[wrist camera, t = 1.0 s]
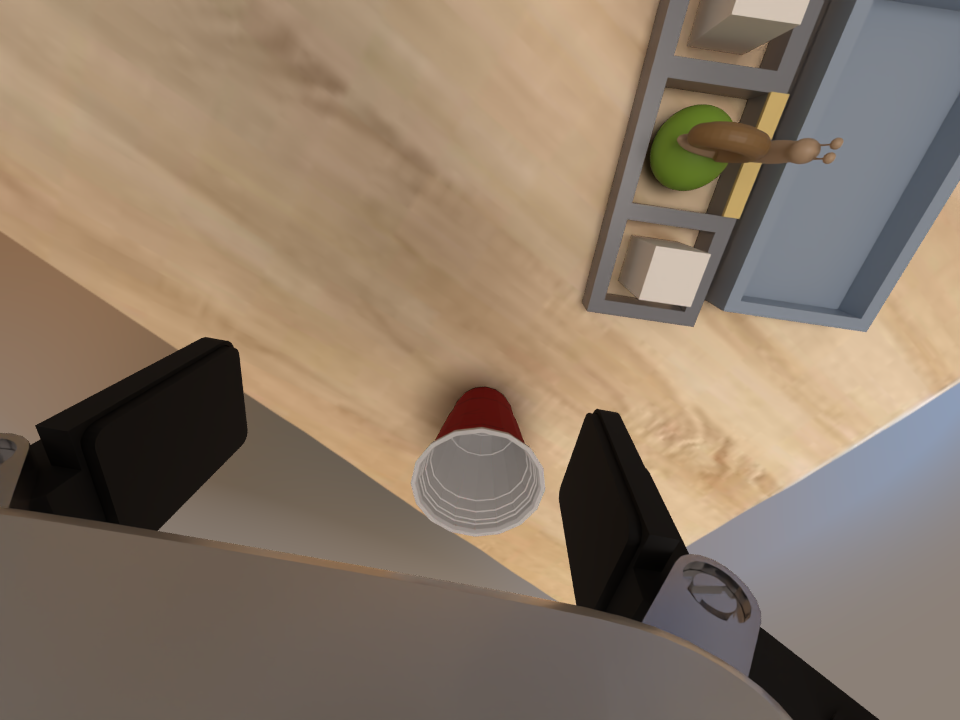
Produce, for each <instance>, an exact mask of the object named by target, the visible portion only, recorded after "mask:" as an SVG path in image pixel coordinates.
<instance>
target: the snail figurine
mask: <svg viewBox="0 0 960 720" xmlns="http://www.w3.org/2000/svg"><path fill="white" fill-rule="evenodd" d="M843 142H844V140H843V139H842V138H835V139H833V140H832V141H831V143H830V144H820V143H819V142H818V141H817V140H815V139H813V138H804V139H800V140H798V141H792V140H773V141H771V139H770V137H769V135H768V134H767V133H765V132H764V131H761V130H759V129H757V128H755V127H753V126H750V125H746V124H742V123H736V122H732V120H731V118H730V117H729V116H728V114H727V113H725V112H724V111H723V110H721V109H720V108H718V107H715V106H712V105H694V106H690V107H687V108H685V109H682V110H680V111H679V112H677V113H675V114H674V115H673V116H671V117H670V118H669V119H668V120H667V121H666V122H665V123H664V124H663V125H662V126H661V128H660V129H659V130H658V132H657V134H656V136H655V138H654V140H653V142H652V146H651V150H650V165H651V169H652V172H653V174H654V176H655V177H656V179H657V180H658V181H659V182H660V183H661V184H663V185H664V186H666V187H668V188H670V189H673V190H678V191H688V190H693V189H697V188H700V187H702V186H704V185H706V184H708V183H710V182H711V181H713V180H714V179H715V178H716V177H717V176H719V175H720V174H721V172H722V171H723V170H724V169H725V168H726V166H727V165H728V163H749V162H753V163H764V164H781V163H789V162H791V163H794V164H805V163H808V162H811V161H812V160H822V161H823V163H825V164H830V163H832V162H833V161H834V160H835V158H836V154H835V153H833V152H830V153H827V154H826V155H824V157H823V158H816V157H817V156H818V155H819V153H820V151H821V146H829V145H830V148H831V149H833V150H836V149H839V148H840V147H841V146H842V145H843Z"/></svg>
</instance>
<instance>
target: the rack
mask: <svg viewBox="0 0 960 720" xmlns="http://www.w3.org/2000/svg"><path fill="white" fill-rule="evenodd" d="M689 1H690V0H660V3H659V7H658V10H657V14H656V18H655V22H654V26H653V30H652V34H651V37H650V41H649V45H648V49H647V53H646V57H645V61H644V65H643V68H642V72H641V76H640V80H639V84H638V88H637V92H636V96H635V99H634V103H633V107H632V111H631V115H630V119H629V123H628V127H627V130H626V134H625V138H624V142H623V146H622V150H621V154H620V157H619V161H618V165H617V169H616V173H615V177H614V181H613V185H612V188H611V192H610V196H609V200H608V204H607V208H606V212H605V216H604V219H603V223H602V227H601V231H600V235H599V239H598V243H597V247H596V250H595V254H594V258H593V262H592V266H591V270H590V274H589V277H588V281H587V285H586V289H585V293H584V297H583V301H582V304H583V305H584V307H585V309H586V310H587V311H589V312H595V313H602V314H609V315H616V316H623V317H629V318H636V319H643V320H650V321H657V322H663V323H670V324H677V325H684V326H691V327H694V324H695V322H696V319H697V317H698V314H699V312H700V309H701V307H702V305H703V302H704V300H705V297H706V295H707V292H708V290H709V287H710V285H711V282H712V280H713V277H714V275H715V272H716V270H717V267H718V265H719V262H720V260H721V257H722V255H723V252H724V250H725V247H726V245H727V242H728V240H729V237H730V235H731V232H732V230H733V227H734V225H735V222H736V220H737V219H740V216H741V214H742V211H743V209H744V206H745V204H746V201H747V199H748V196H749V194H750V191H751V189H752V187H753V184H754V182H755V179H756V177H757V174H758V172H759V169H760V167H761V164H762V163H753V162H749V163H728V165H727V166H726V168H725V169H724V170H723V171H722V172H721V175H720V178H719V180H718V183H717V186H716V189H715V191H714V194H713V197H712V199H711V202H710V205H709V208H708V210H707V213H699V212H692V211H686V210H679V209H672V208H665V207H659V206H652V205H645V204H638V203H632V201H633V198H634V194H635V191H636V187H637V184H638V180H639V177H640V173H641V170H642V166H643V163H644V159H645V155H646V152H647V148H648V145H649V141H650V138H651V134H652V131H653V127H654V124H655V120H656V117H657V113H658V110H659V106H660V103H661V99H662V96H663V92H664V89H665V87H669V88H676V89H682V90H689V91H696V92H703V93H709V94H716V95H723V96H729V97H736V98H743V99H748V101H747V104H746V107H745V109H744V112H743V115H742V118H741V120H740V123H742V124H746V125H750V126H753V127H755V128H757V129H759V130H761V131H764V132H765V133H767V134H768V135H769V137H770V139H772V137H773V135H774V132H775V130H776V127H777V125H778V122H779V120H780V117H781V115H782V112H783V110H784V107H785V105H786V102H787V100H788V97H789V95H790V94H787V93H788V90H789V88H790V85H791V83H792V80H793V78H794V75H795V73H796V70H797V68H798V65H799V63H800V60H801V58H802V55H803V53H804V50H805V48H806V45H807V43H808V40H809V38H810V35H811V33H812V30H813V28H814V25H815V23H816V20H817V18H818V15H819V13H820V10H821V8H822V5H823V3H824V0H810V1H809V4H808V7H807V9H806V12H805V14H804V17H803V19H802V22H801V25H799V26H797V27H795V28H793V29H791V30H789V31H787V32H785V33H783V34H781V35H779V36H778V37H776V38H774V39H772V40H770V41H769V44H768V47H767V49H766V52H765V55H764V58H763V60H762V63H761V66H760V68H753V67H746V66H740V65H733V64H726V63H720V62H713V61H706V60H700V59H693V58H686V57H679V56H674V53H675V50H676V46H677V43H678V39H679V36H680V32H681V29H682V25H683V22H684V18H685V15H686V11H687V8H688V4H689ZM627 219H628V220H635V221H642V222H649V223H655V224H662V225H669V226H676V227H682V228H689V229H696V230H700V232H699V235H698V238H697V240H696V243H695V246H694V248H696V249H699V250H701V251H704V252H707V253H709V254H711V256H710V258H709V261H708V264H707V266H706V269H705V271H704V274H703V277H702V279H701V282H700V284H699V287H698V289H697V292H696V295H695V297H694V300H693V302H692V305H691V307H687V306H680V305H673V304H666V303H660V302H653V301H646V300H639V299H638V298H634V297H627V296H620V295H613V294H607V289H608V286H609V282H610V279H611V275H612V272H613V268H614V265H615V261H616V258H617V254H618V251H619V247H620V244H621V240H622V236H623V233H624V229H625V226H626V222H627Z"/></svg>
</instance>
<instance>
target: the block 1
mask: <svg viewBox="0 0 960 720" xmlns="http://www.w3.org/2000/svg"><path fill="white" fill-rule="evenodd" d="M710 256H711V254H709V253H707V252H704V251H701V250H699V249H696V248H693V247H691V246H688V245H685V244H682V243H680V242H676V241H669V240H663V239H656V238H649V237H642V236H636V235H631V239H630V242H629V245H628V249H627V252H626V256H625V259H624V262H623V266H622V269H621V273H620V276H619V280H618V281H619V282H620V283H621V284H622V285H624V286H625V287H626V288H627V289H628V290H629V291H630V292H631V293H632V294H633V295H635V296H636V297H637V298H638V299H639V300H646V301H653V302H660V303H666V304H673V305H680V306H687V307H691V305H692V302H693V300H694V297H695V295H696V292H697V289H698V287H699V284H700V282H701V279H702V277H703V274H704V271H705V269H706V266H707V264H708V261H709V258H710Z"/></svg>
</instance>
